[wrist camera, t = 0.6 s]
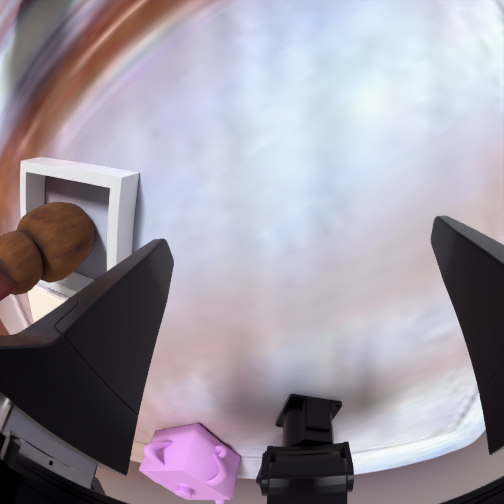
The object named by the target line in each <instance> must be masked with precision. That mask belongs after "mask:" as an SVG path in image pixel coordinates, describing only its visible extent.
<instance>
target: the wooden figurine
mask: <svg viewBox="0 0 504 504" xmlns="http://www.w3.org/2000/svg"><path fill="white" fill-rule="evenodd" d="M94 240H95V231H94V228H93V225H92V222H91V220H90V218H89V216H88V215H87V214H86V213H85V212H84V210H83V209H81V208H80V207H78V206H77V205H75V204H71V203H65V202H53V203H48V204H45V205H42V206H39V207H37V208H35V209H33V210H32V211H30V212H28V213H27V214H26V215H24V216H23V217H22V219H21V221H20V223H19V225H18V227H17V230H16V231H13V232H10V233H7V234H4V235H2V236H1V237H0V301H1V300H2V299H4V298H5V297H7V296H8V295H9V294H14V295H18V294H24V293H27V292H28V291H30V290H32V288H33V287H34V286H35V285H36V284H37V283H38V282H39V281H40V280H43V281H45V282H48V283H52V282H57V281H60V280H63V279H65V278H66V277H67V276H69V275H70V274H71V273H72V272H73V271H74V270H76V269H77V267H78V266H79V265H80V264H81V263H82V262H83V261H84V260H85V259H86V257H87V256H88V255H89V253H90V252H91V249H92V247H93V243H94Z"/></svg>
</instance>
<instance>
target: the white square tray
mask: <svg viewBox="0 0 504 504" xmlns="http://www.w3.org/2000/svg"><path fill="white" fill-rule="evenodd" d="M45 175H46V176H52V177H57V178H62V179H67V180H73V181H78V182H83V183H88V184H93V185H98V186H103V187H107V188H110V197H109V211H108V230H107V271H108V270H109V269H111V268H112V267H114V266H115V265H117V264H118V263H120V262H121V261H122V260H124V259H125V258H127V257H128V256H130V255H131V254H132V244H133V229H134V217H135V207H136V197H137V188H138V180H139V173H138V172H133V171H127V170H122V169H116V168H110V167H104V166H98V165H92V164H86V163H79V162H73V161H66V160H59V159H52V158H44V157H38V158H33V159H28V160H23V161H21V173H20V208H21V219H22V217H23V216H24V215H26V214H27V213H28V212H30V211H32V210H33V209H35V208H37V207H39V206H42V205H45ZM92 281H94V279H91V278H89V277H86V276H83V275H81V274H78V273H75V272H72V273H71V274H70V275H69V276H67V277H66V278H65V279H63V280H60V281H57V282H52V283H48V282H45V281H43V280H40V281H39V282H38V283H40V284H42V285H44V286H47V287H49V288H51V289H53V290H55V291H58V292H60V293H62V294H64V295H67V296H69V297H72V296H73V295H75V294H76V293H77V292H79V291H81V289H83V288H84V287H86V286H87V285H88V284H90V283H91V282H92Z"/></svg>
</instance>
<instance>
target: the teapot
mask: <svg viewBox="0 0 504 504" xmlns="http://www.w3.org/2000/svg"><path fill="white" fill-rule="evenodd" d="M143 451H144V454H145V456H144V459H143V461H142V463H141V466H140V468H139V471H141V472H142V473H144V474H145V475H146V476H148V477H150V478H151V479H152V480H153V481H154V482H156V483H159V484H160V485H162V486H164V487H165V488H167V489H169V490H170V491H172V492H174V493H175V494H176V495H178V496H180V497H183V498H185V499H187V500H215V503H216V504H225V503H224V500H225V499H232V498H233V493H234V488H235V483H236V478H237V472H238V467H239V462H240V457H239V456H238V455H237V454H235V453H234V452H233V451H232V450H230V449H229V448H228V447H227V446H225V445H224V444H223V443H221V442H220V441H219V440H218V439H216V438H215V437H214V436H213V435H211V434H210V433H209V432H208V431H207V430H206V429H204V428H203V427H202V426H201V425H200V424H198V423H196V424H191V425H185V426H180V427H174V428H168V429H162V430H156V431H155V433H154V435H153V438H152V440H151V442H150V443H148V444H147V445H145V446H144V448H143Z"/></svg>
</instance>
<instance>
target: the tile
mask: <svg viewBox="0 0 504 504" xmlns="http://www.w3.org/2000/svg"><path fill="white" fill-rule="evenodd" d="M28 297H29V302H30V307H31V311H32V316H33V320H34V323H35V322H36V321H38V320H39V319H41V318H42V317H43V316H45V315H46V314H48V313H49V312H51V311H52V310H54V309H55V308H56V307H58V306H59V305H61V304H62V303H64V302H65V301H66V300H67V299H65V298H62V297H60V296H58V295H56V294H53V293H51V292H49V291H47V290H45V289H43V288H41V287H39V286H37V285H35V286H34V287H33V288H32V290H30V291H28Z"/></svg>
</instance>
